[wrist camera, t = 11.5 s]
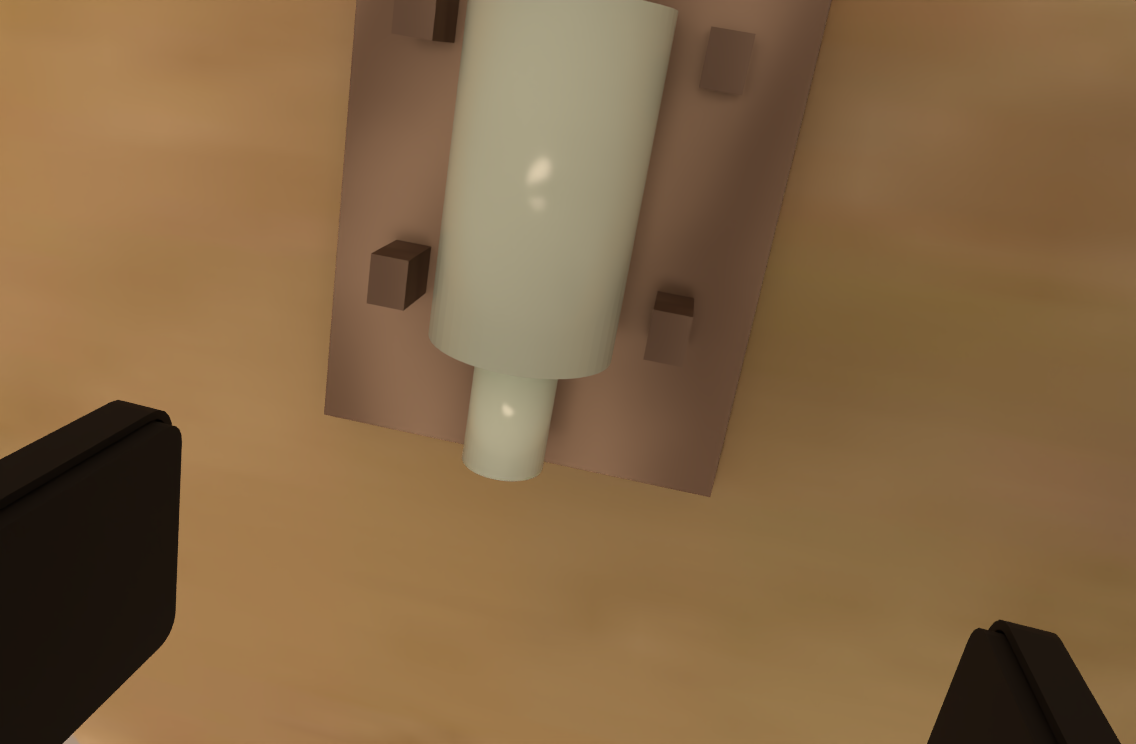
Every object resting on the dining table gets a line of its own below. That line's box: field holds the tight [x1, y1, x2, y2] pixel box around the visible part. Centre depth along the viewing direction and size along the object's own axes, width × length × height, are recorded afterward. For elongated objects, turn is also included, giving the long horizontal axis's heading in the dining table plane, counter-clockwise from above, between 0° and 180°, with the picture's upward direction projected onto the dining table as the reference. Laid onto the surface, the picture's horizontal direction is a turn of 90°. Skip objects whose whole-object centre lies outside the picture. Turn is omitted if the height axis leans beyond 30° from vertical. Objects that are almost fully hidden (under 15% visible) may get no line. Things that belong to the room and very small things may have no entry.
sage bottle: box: [428, 0, 678, 481], centre depth 26 cm, size 14×6×6 cm, turn 170°
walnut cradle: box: [324, 0, 832, 497], centre depth 28 cm, size 14×18×3 cm
